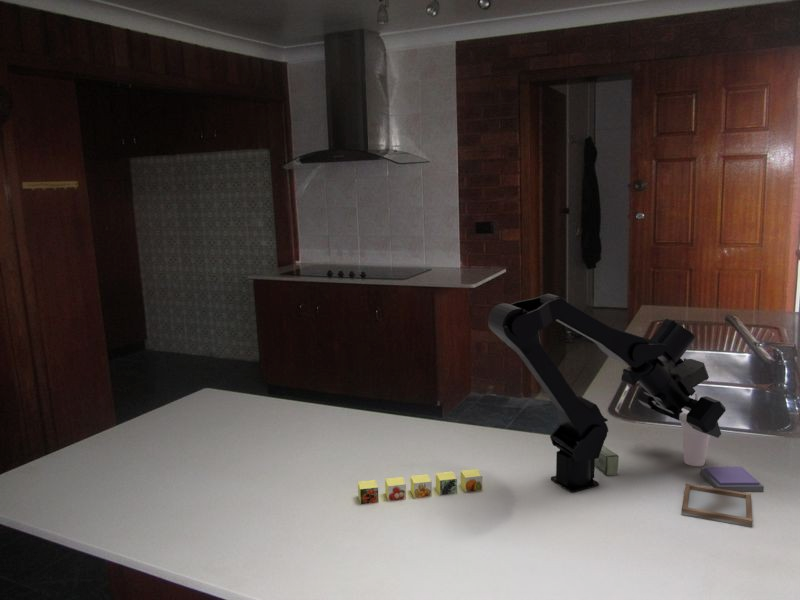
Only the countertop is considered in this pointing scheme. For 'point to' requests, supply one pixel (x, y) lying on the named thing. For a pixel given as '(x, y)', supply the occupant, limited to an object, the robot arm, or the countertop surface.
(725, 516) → the marked square
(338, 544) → the countertop surface
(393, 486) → the fruit picture blocks
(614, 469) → the medication box
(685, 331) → the robot arm
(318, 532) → the countertop surface
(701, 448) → the smoothie
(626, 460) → the countertop surface
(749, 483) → the ink pad
